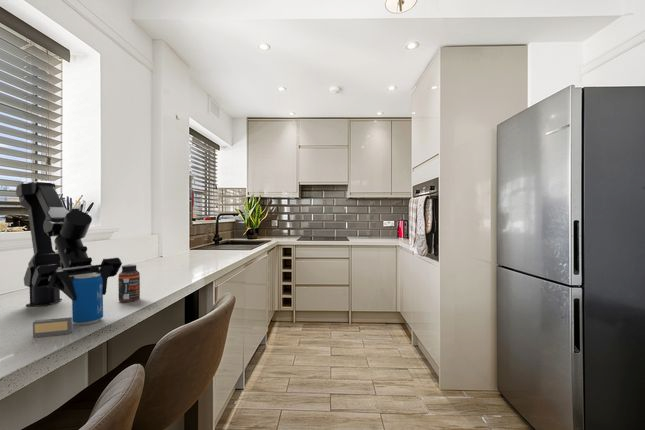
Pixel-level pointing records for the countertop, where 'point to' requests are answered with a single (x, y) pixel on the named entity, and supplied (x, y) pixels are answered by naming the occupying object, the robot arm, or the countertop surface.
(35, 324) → the rail
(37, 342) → the countertop surface
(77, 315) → the beverage can
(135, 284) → the supplement bottle
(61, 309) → the countertop surface
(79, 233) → the robot arm
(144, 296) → the countertop surface
